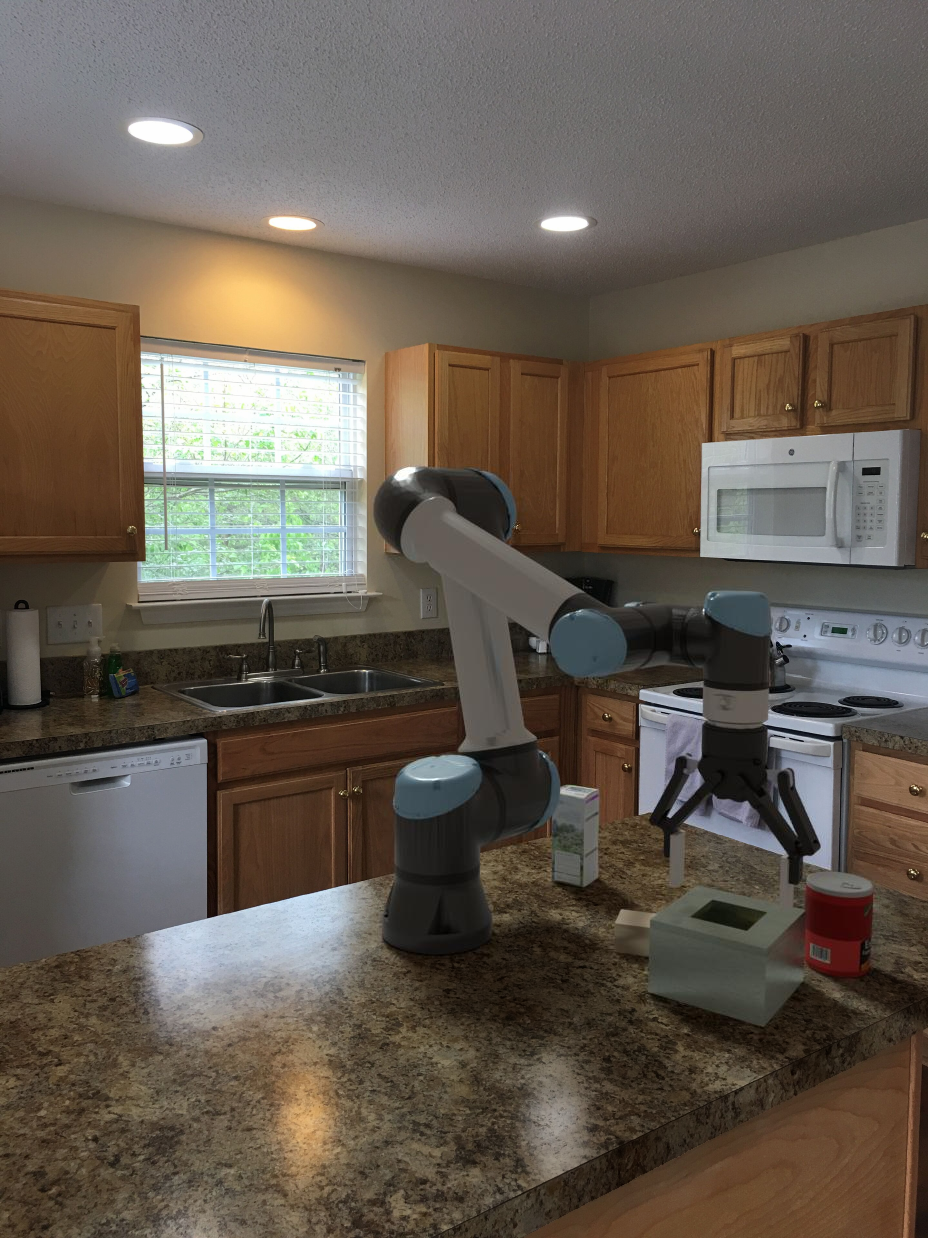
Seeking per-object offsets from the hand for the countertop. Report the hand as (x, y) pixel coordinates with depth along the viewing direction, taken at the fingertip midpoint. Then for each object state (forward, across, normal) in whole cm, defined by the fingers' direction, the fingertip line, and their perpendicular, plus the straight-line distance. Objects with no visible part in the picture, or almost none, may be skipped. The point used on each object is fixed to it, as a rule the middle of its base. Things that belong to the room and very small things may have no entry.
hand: (729, 896), depth 120 cm
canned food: (+11, +9, +14) cm, 20 cm away
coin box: (+11, 0, 0) cm, 11 cm away
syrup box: (+11, -33, +21) cm, 41 cm away
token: (+11, -14, +4) cm, 18 cm away
